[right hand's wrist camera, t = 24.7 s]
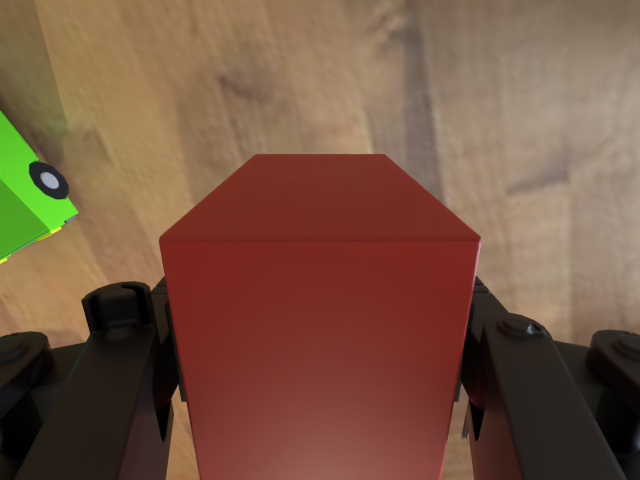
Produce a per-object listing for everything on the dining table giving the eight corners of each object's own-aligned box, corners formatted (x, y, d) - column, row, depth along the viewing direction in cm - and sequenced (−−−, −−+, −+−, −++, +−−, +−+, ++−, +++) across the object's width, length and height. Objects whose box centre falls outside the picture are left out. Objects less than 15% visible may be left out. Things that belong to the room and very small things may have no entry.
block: (385, 153, 14) (485, 236, 6) (376, 302, 17) (435, 518, 8) (254, 153, 14) (155, 236, 6) (263, 302, 17) (204, 518, 8)
